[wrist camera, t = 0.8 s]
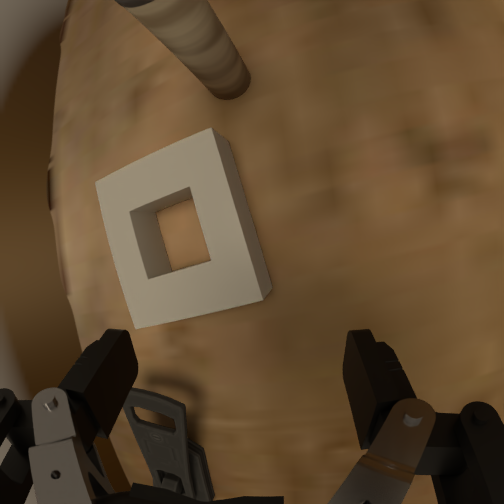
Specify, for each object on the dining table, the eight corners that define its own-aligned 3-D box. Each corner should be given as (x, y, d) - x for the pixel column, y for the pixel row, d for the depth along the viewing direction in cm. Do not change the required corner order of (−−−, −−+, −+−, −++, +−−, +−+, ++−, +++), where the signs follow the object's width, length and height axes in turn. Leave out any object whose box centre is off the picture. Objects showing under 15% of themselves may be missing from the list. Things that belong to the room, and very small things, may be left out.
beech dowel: (203, 72, 30) (93, -39, 10) (243, 56, 29) (161, -77, 9) (214, 106, 30) (93, -1, 11) (256, 90, 29) (172, -45, 9)
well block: (122, 186, 33) (95, 182, 28) (228, 140, 30) (211, 127, 25) (159, 315, 34) (135, 329, 29) (272, 287, 30) (263, 300, 26)
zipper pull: (187, 404, 27) (201, 536, 29) (210, 375, 33) (215, 506, 36) (110, 383, 29) (144, 517, 31) (140, 360, 35) (162, 491, 38)
